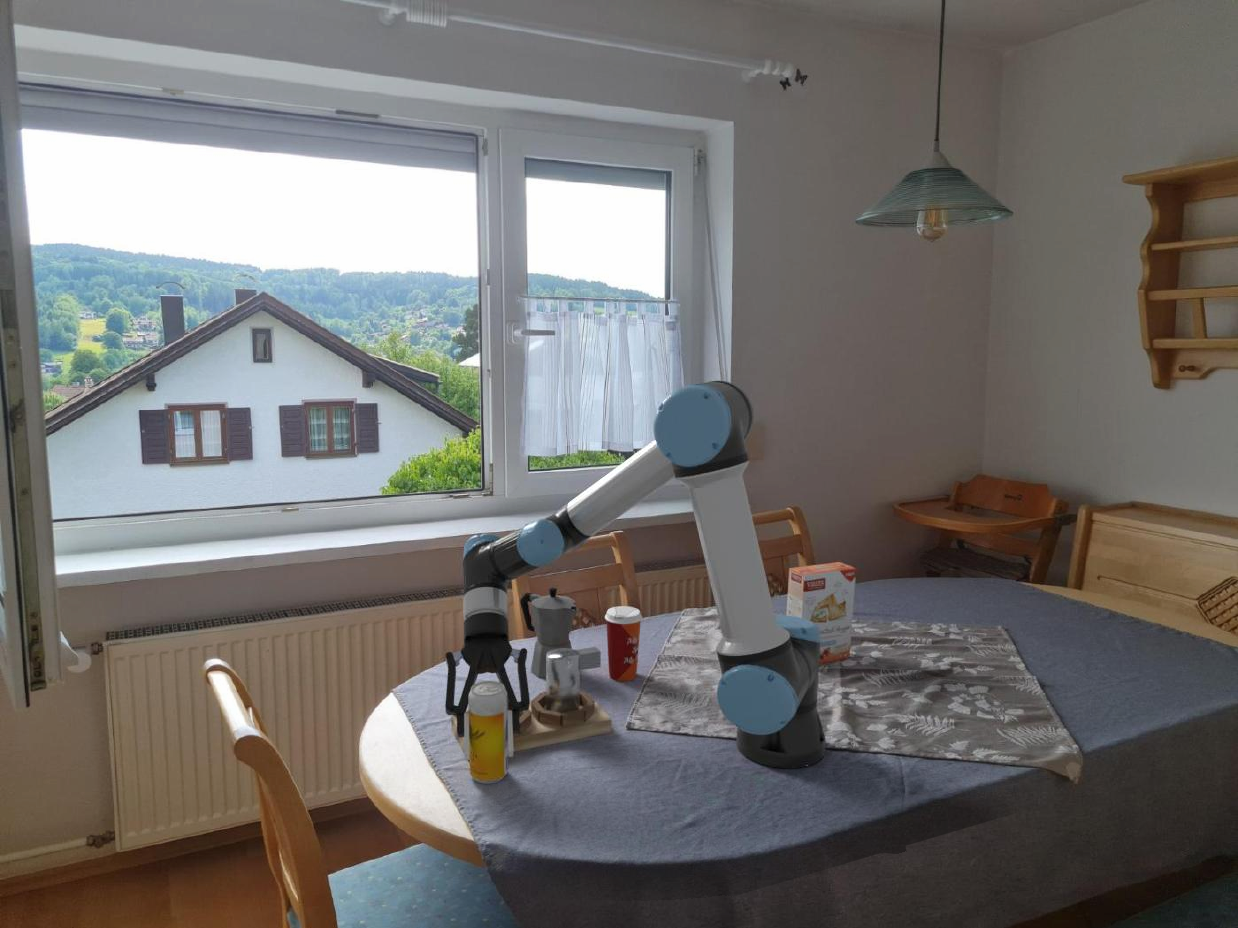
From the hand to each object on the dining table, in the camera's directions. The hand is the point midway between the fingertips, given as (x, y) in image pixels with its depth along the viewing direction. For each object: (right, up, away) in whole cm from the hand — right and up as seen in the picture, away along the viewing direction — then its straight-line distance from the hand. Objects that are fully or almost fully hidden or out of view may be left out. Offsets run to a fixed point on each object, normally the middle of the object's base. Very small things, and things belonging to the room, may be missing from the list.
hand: (489, 755), depth 134 cm
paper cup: (+21, +1, +44) cm, 49 cm away
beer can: (-1, -5, +4) cm, 7 cm away
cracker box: (+64, +2, +54) cm, 83 cm away
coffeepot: (+6, +2, +47) cm, 47 cm away
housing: (+5, -2, +20) cm, 20 cm away
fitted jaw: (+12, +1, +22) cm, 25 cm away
